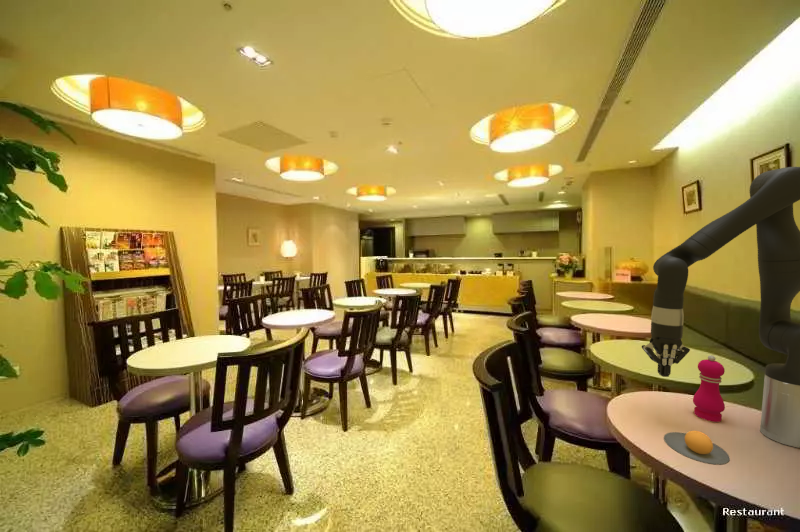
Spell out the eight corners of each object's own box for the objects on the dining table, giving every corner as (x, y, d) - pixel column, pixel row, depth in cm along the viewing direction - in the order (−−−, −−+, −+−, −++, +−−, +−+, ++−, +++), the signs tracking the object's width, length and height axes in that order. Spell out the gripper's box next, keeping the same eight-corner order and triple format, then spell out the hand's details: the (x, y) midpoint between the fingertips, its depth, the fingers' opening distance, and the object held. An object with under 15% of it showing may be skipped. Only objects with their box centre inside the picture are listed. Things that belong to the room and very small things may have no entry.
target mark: (700, 433, 91) (700, 433, 91) (745, 465, 79) (745, 465, 78) (652, 431, 93) (652, 431, 93) (688, 463, 80) (688, 462, 80)
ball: (698, 441, 87) (702, 425, 85) (716, 458, 82) (721, 442, 80) (677, 442, 87) (681, 426, 85) (694, 459, 82) (699, 443, 80)
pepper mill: (730, 424, 96) (735, 360, 94) (702, 422, 97) (706, 359, 95) (712, 411, 103) (716, 352, 101) (686, 409, 104) (690, 350, 102)
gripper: (652, 324, 94) (649, 380, 95) (700, 324, 92) (696, 381, 94) (636, 318, 101) (633, 370, 103) (680, 318, 100) (677, 371, 101)
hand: (663, 375), depth 98 cm, fingers closed
